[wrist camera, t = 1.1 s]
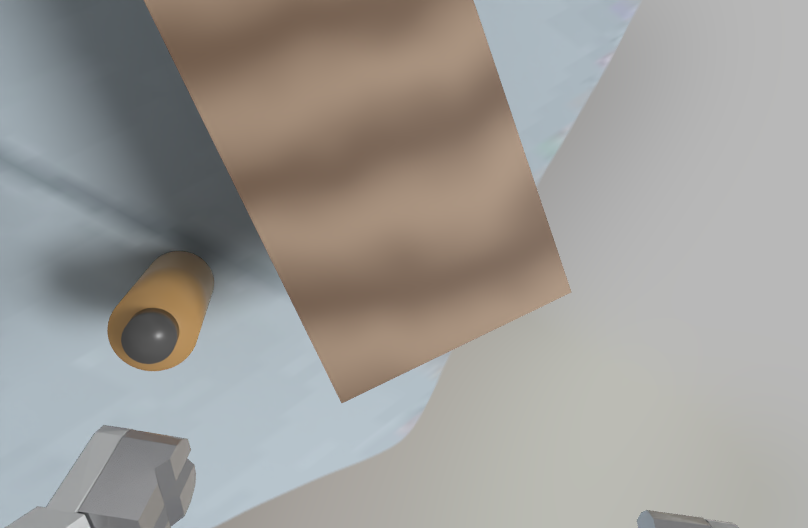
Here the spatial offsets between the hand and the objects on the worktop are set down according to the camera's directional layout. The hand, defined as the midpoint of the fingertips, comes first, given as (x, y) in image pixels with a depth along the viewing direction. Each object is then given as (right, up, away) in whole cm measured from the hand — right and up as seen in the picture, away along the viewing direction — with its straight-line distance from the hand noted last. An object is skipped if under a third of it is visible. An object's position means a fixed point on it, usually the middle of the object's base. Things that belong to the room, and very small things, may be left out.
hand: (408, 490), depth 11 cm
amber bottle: (-18, +3, +37) cm, 42 cm away
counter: (-6, +14, +37) cm, 41 cm away
